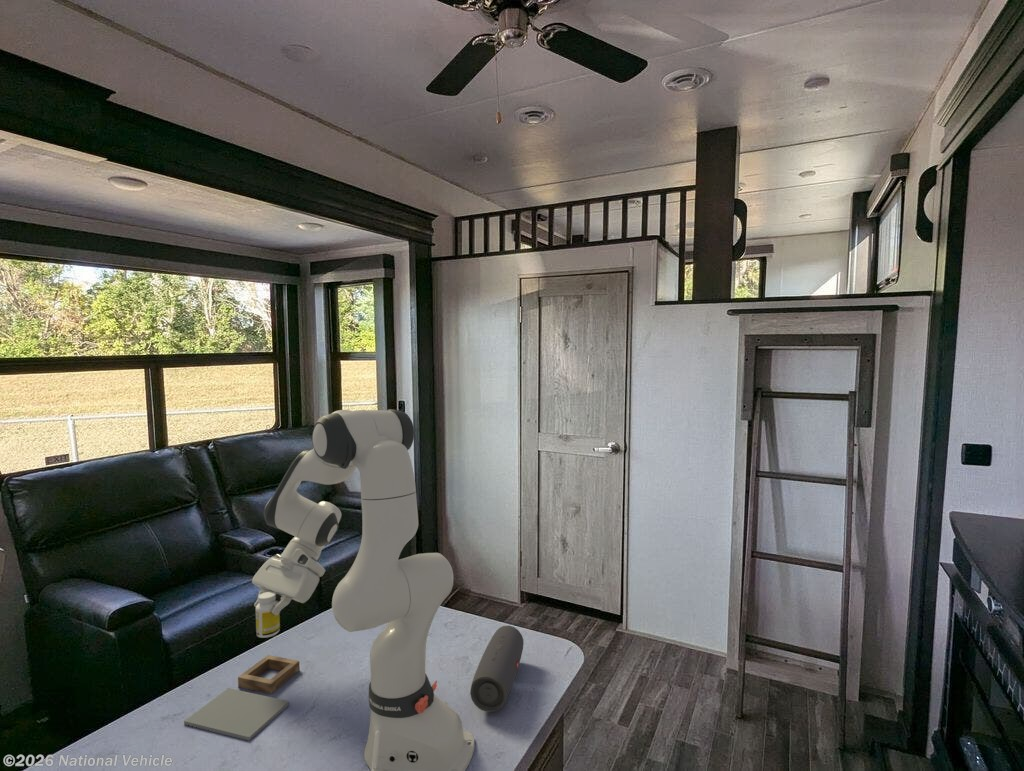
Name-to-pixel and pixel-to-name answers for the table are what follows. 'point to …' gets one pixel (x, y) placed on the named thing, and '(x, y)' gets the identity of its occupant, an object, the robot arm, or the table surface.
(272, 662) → the walnut collar
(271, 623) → the supplement bottle
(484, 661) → the bluetooth speaker
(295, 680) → the table surface
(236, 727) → the slate mat
